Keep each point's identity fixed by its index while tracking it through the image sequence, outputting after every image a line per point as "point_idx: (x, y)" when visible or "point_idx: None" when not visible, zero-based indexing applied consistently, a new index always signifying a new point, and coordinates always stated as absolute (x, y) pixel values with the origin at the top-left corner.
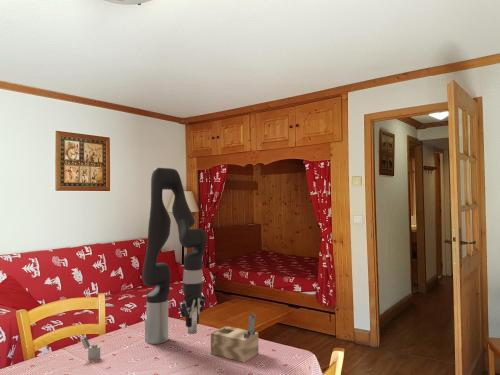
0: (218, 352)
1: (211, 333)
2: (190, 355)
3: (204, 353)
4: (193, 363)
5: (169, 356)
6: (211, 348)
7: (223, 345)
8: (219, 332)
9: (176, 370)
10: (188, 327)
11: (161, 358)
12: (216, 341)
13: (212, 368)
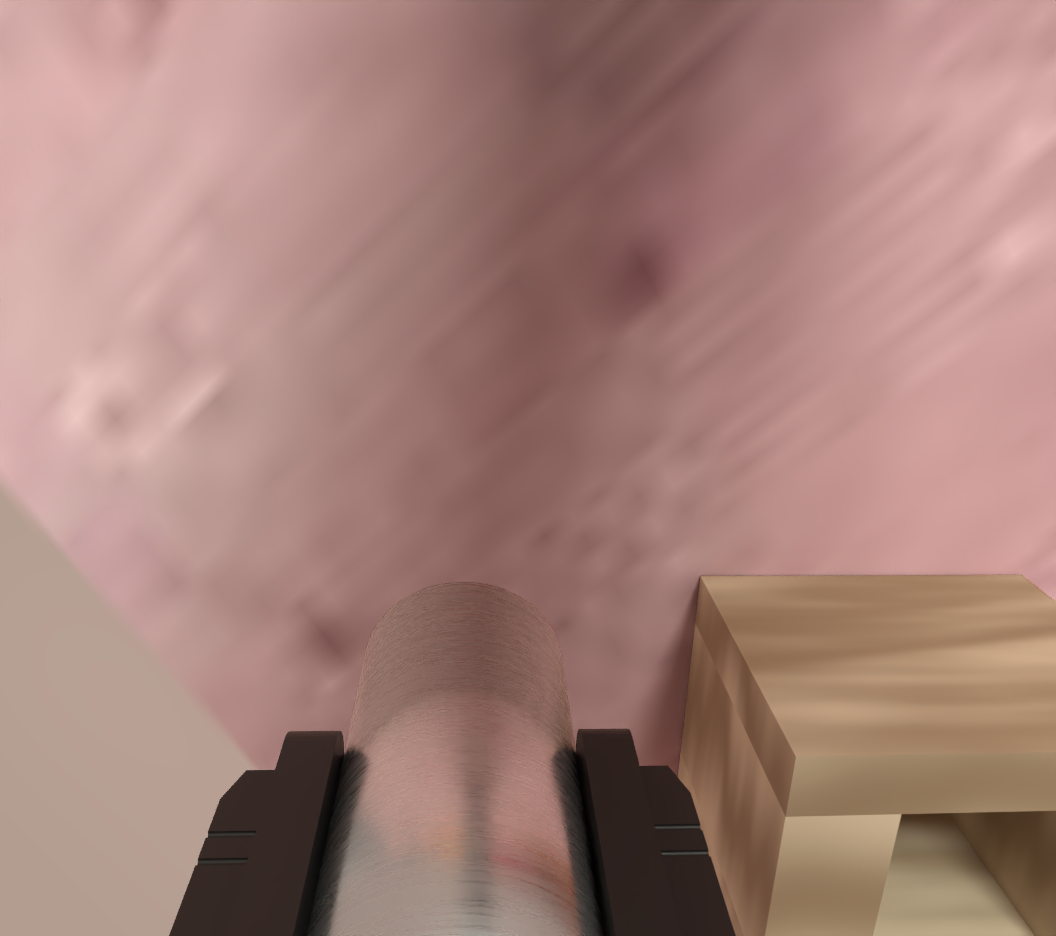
0: (696, 708)
1: (791, 768)
2: (517, 389)
3: (666, 506)
4: (340, 586)
5: (314, 130)
6: (717, 621)
7: (716, 853)
8: (879, 850)
9: (62, 549)
10: (352, 725)
11: (180, 67)
12: (739, 776)
13: None
